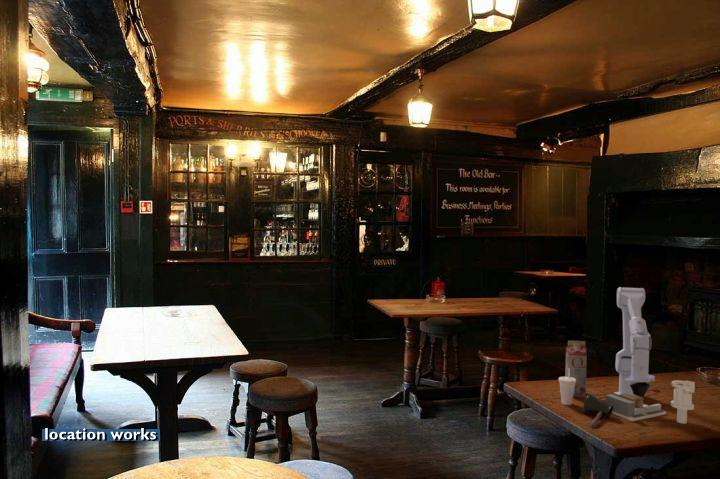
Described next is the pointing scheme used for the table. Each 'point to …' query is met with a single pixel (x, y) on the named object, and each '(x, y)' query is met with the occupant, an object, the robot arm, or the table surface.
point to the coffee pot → (596, 409)
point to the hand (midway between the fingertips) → (638, 401)
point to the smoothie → (567, 388)
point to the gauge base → (632, 408)
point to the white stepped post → (683, 399)
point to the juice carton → (577, 366)
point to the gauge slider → (634, 399)
